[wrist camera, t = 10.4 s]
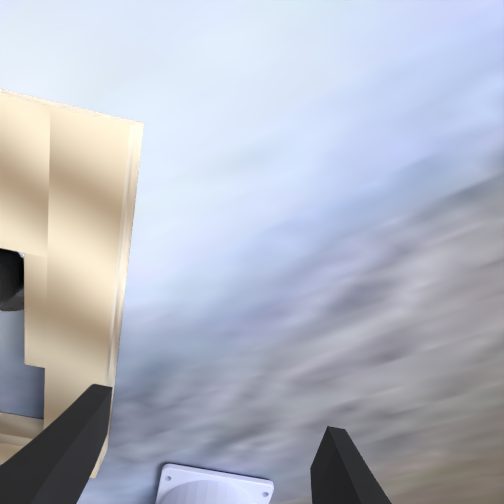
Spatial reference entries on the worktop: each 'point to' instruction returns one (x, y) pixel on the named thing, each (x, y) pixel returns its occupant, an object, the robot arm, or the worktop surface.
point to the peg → (11, 280)
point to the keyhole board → (67, 245)
